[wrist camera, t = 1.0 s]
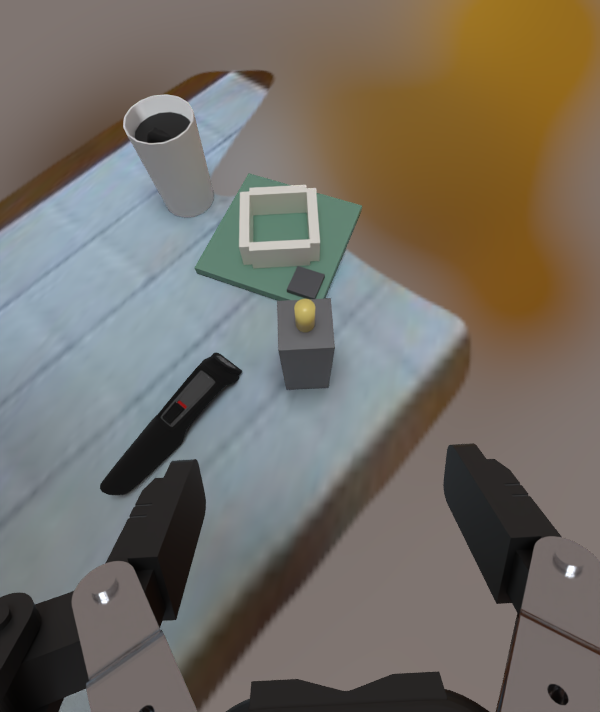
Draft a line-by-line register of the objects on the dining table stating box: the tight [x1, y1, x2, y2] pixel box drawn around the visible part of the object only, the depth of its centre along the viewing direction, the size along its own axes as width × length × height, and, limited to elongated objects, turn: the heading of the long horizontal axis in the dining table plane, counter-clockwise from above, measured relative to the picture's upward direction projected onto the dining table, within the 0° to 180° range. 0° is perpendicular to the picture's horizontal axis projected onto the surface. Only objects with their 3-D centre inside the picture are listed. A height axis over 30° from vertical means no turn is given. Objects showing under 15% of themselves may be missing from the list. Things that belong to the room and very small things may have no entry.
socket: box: [239, 185, 320, 268], centre depth 40 cm, size 8×8×3 cm
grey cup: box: [123, 95, 214, 218], centre depth 41 cm, size 7×7×10 cm
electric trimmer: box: [100, 353, 242, 495], centre depth 34 cm, size 4×15×3 cm, turn 142°
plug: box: [277, 298, 335, 390], centre depth 31 cm, size 4×4×12 cm
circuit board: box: [195, 174, 362, 301], centre depth 42 cm, size 14×14×2 cm
